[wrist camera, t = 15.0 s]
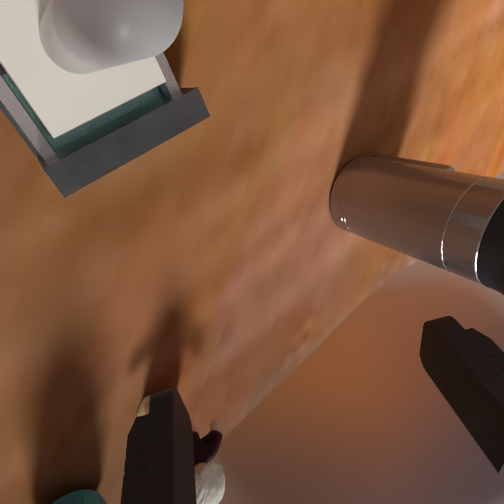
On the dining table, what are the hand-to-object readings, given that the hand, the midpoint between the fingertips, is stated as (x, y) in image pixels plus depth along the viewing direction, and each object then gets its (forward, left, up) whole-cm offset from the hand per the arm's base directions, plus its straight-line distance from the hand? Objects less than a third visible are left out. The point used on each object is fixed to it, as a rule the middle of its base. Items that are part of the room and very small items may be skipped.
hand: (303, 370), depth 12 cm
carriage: (-2, -11, -22) cm, 24 cm away
